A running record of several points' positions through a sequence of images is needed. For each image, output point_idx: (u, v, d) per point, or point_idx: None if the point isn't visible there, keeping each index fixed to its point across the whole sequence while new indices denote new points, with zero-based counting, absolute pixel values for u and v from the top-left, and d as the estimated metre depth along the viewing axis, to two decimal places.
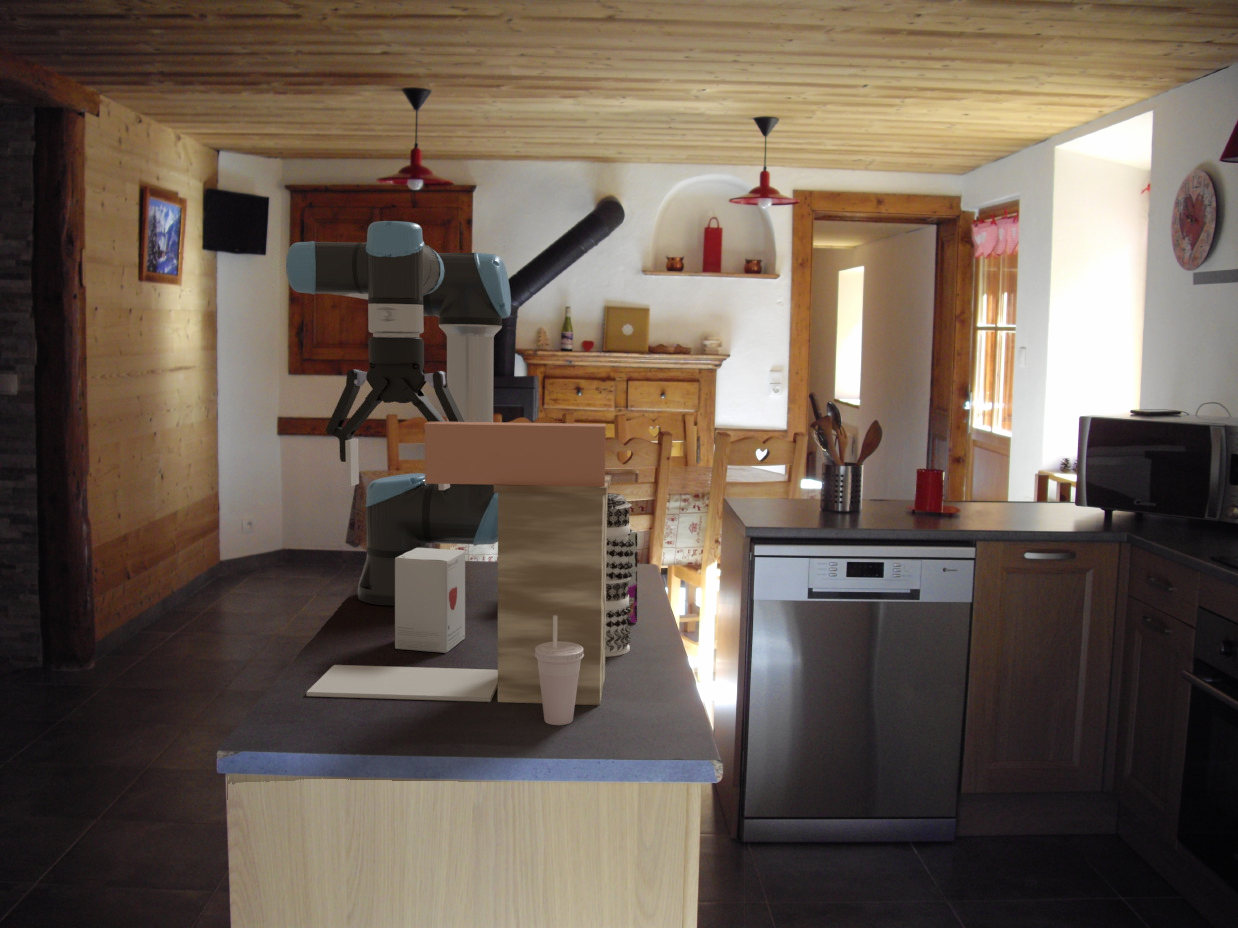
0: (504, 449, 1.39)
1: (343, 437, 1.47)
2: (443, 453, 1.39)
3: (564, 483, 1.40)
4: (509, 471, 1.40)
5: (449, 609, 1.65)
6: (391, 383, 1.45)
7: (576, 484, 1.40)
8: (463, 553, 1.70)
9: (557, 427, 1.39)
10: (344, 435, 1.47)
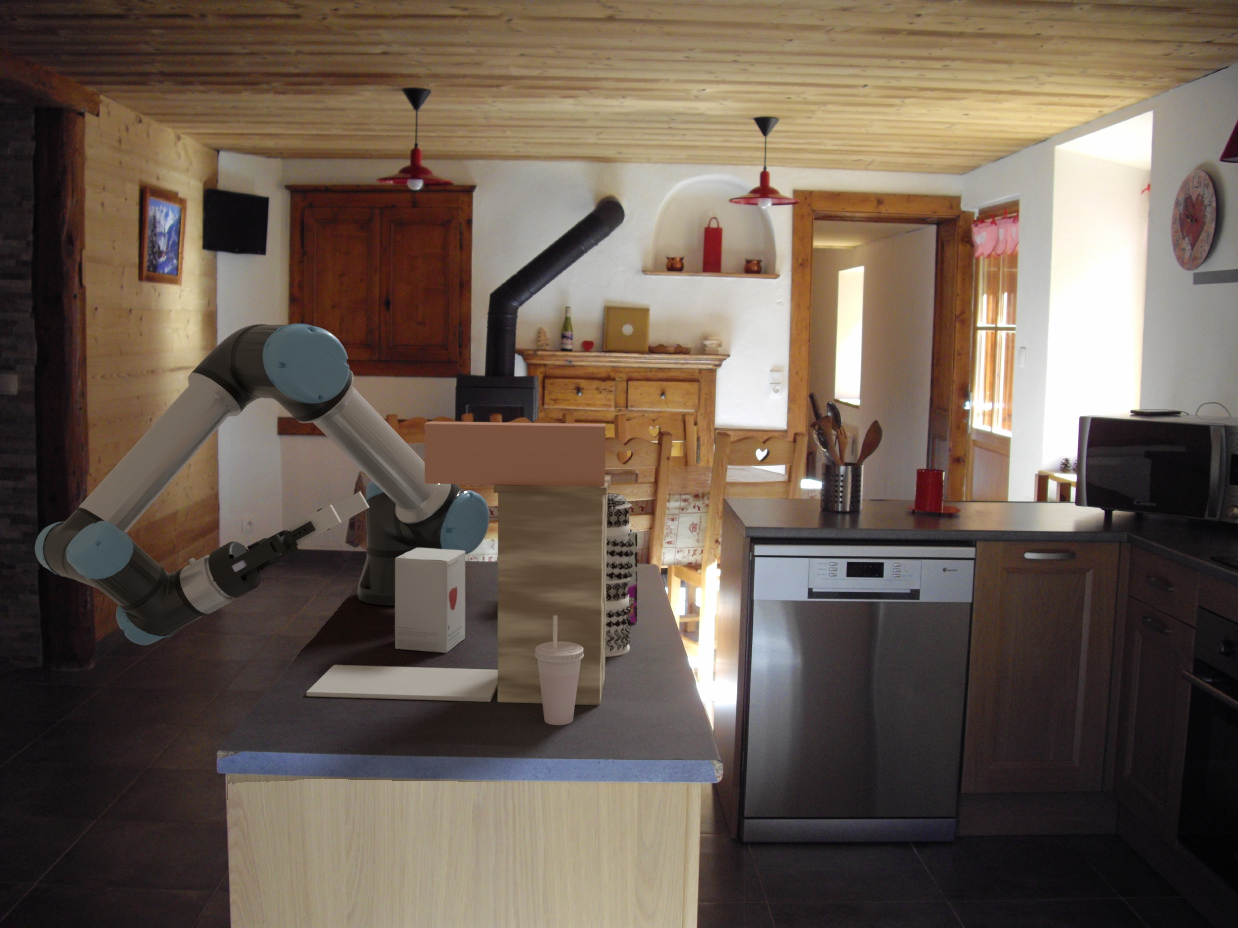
0: (504, 449, 1.39)
1: (285, 530, 1.40)
2: (443, 453, 1.39)
3: (564, 483, 1.40)
4: (509, 471, 1.40)
5: (449, 609, 1.65)
6: None
7: (576, 484, 1.40)
8: (463, 553, 1.70)
9: (557, 427, 1.39)
10: (284, 530, 1.40)
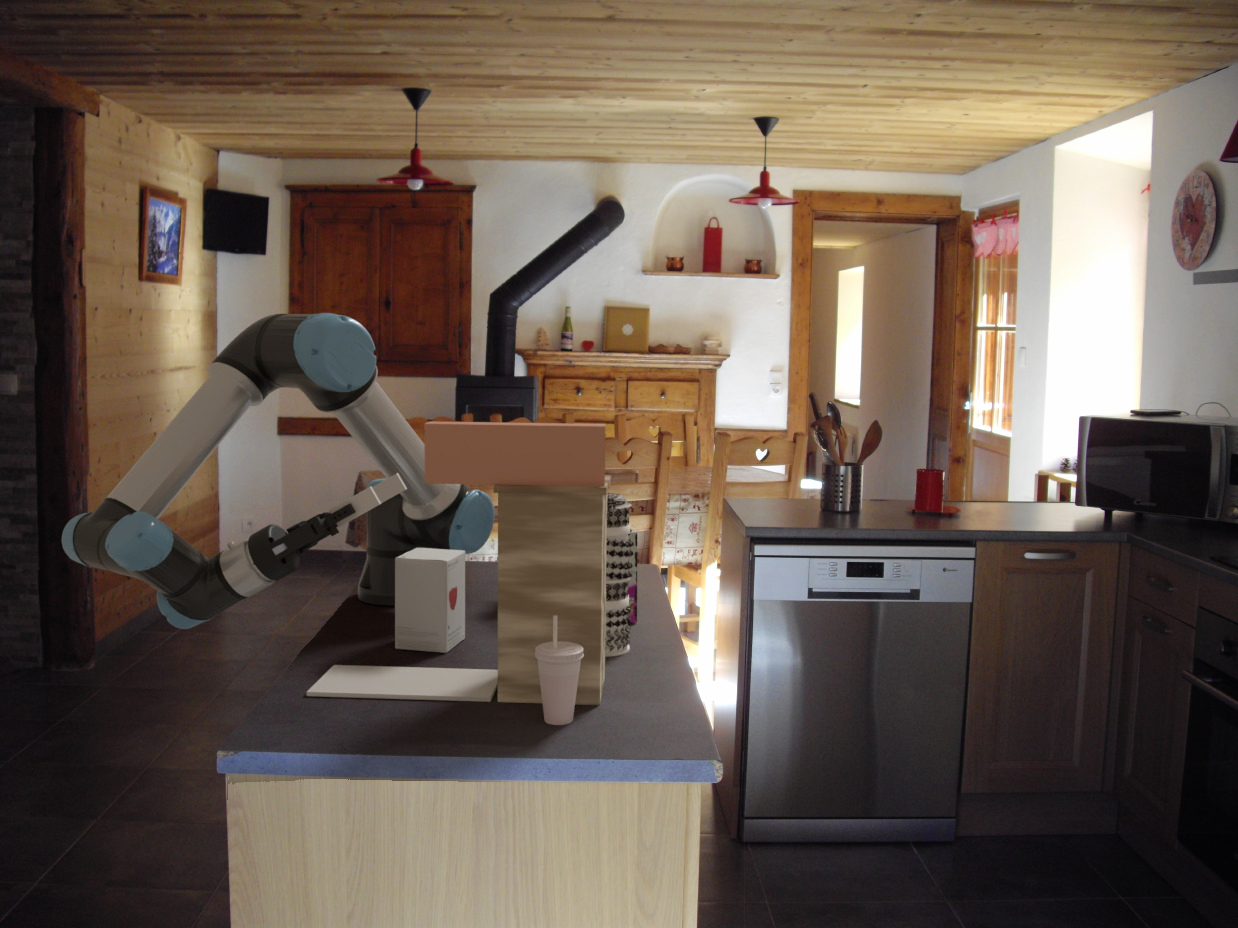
0: (504, 449, 1.39)
1: None
2: (443, 453, 1.39)
3: (564, 483, 1.40)
4: (509, 471, 1.40)
5: (449, 609, 1.65)
6: None
7: (576, 484, 1.40)
8: (463, 553, 1.70)
9: (557, 427, 1.39)
10: (324, 513, 1.40)
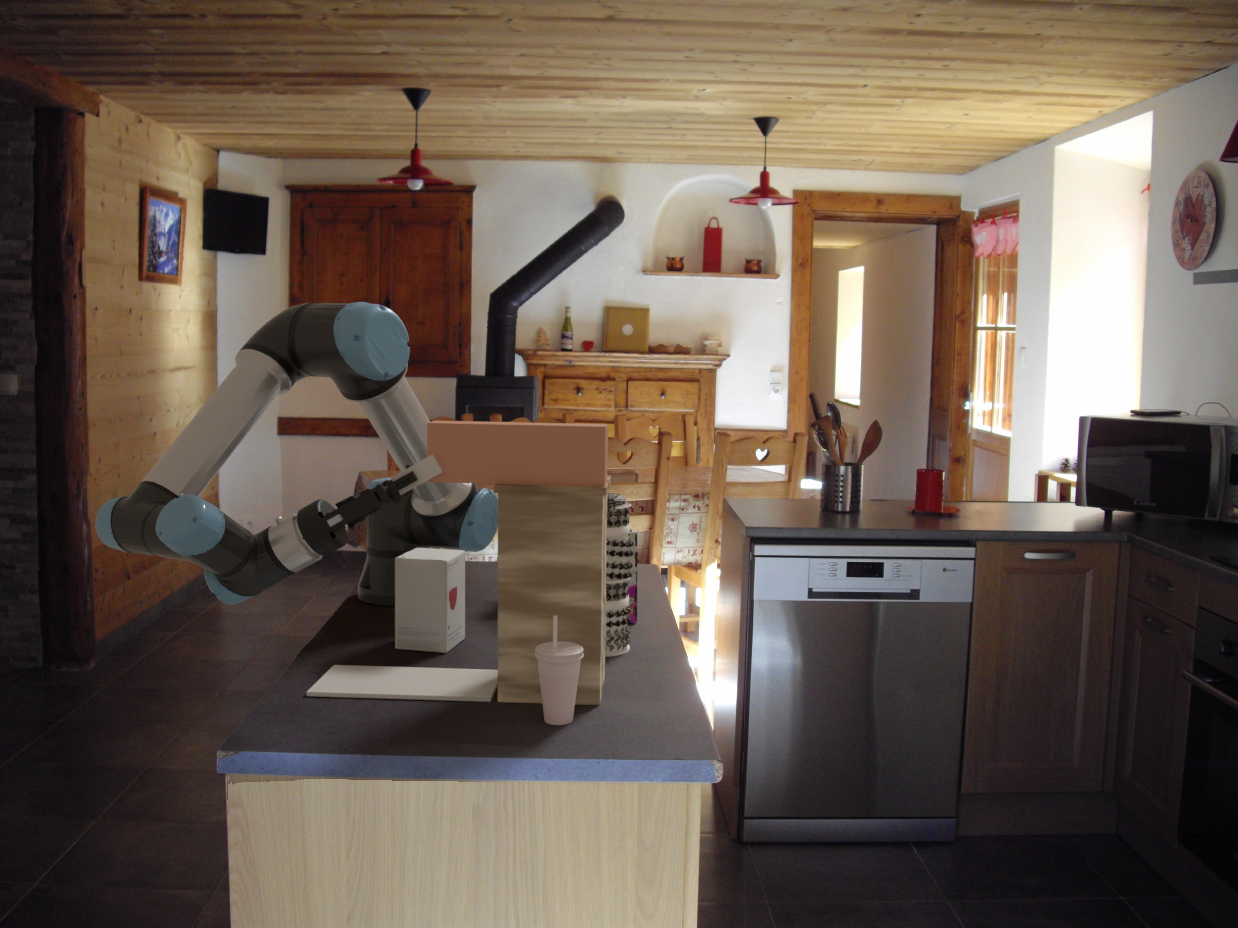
0: (505, 448, 1.40)
1: (387, 480, 1.40)
2: (445, 452, 1.40)
3: (564, 483, 1.40)
4: (510, 471, 1.40)
5: (449, 609, 1.65)
6: None
7: (576, 484, 1.40)
8: (463, 553, 1.70)
9: (557, 427, 1.39)
10: (386, 481, 1.40)
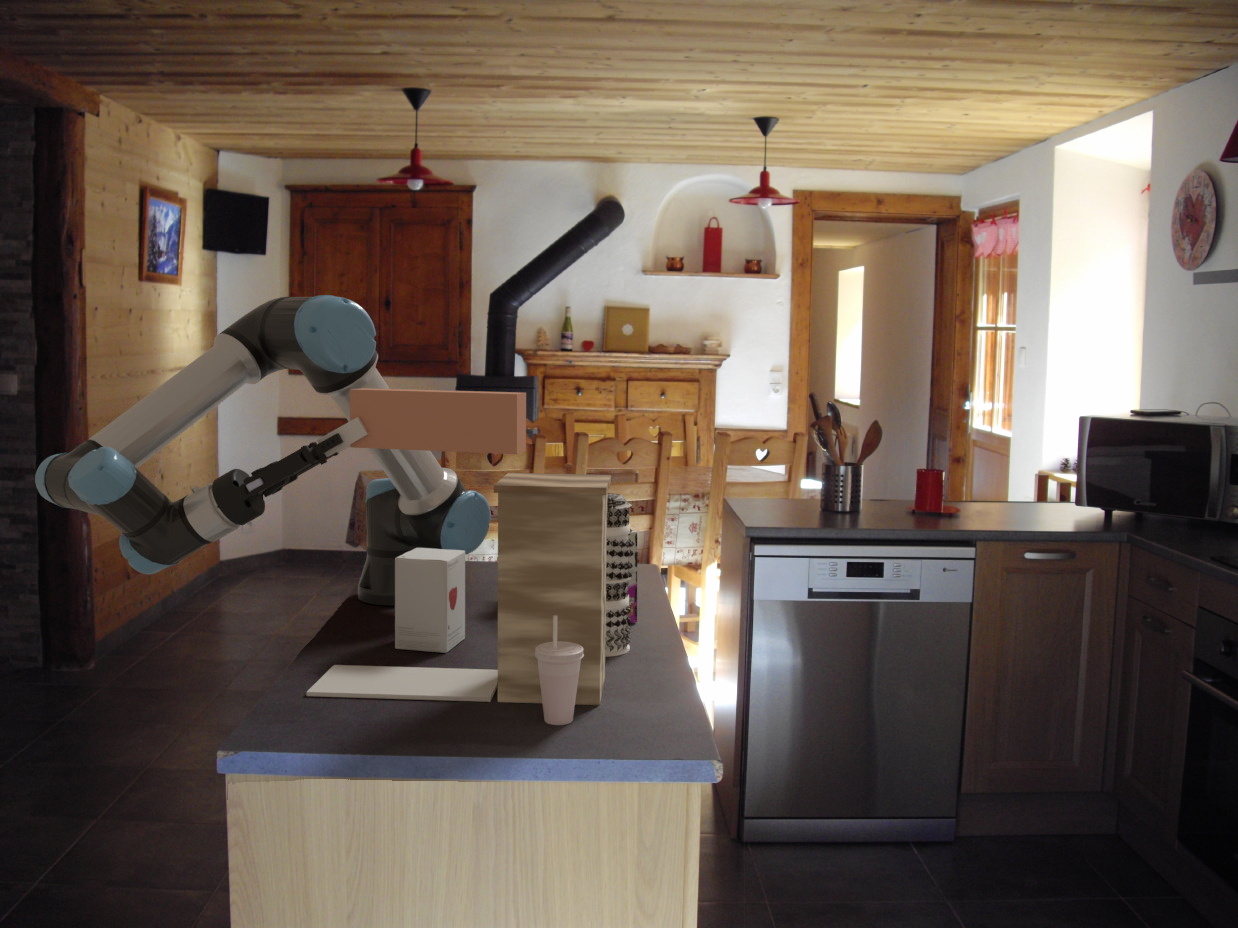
0: (422, 415, 1.42)
1: None
2: (367, 418, 1.43)
3: (478, 450, 1.40)
4: (427, 437, 1.42)
5: (449, 609, 1.65)
6: None
7: (489, 451, 1.40)
8: (463, 553, 1.70)
9: (471, 394, 1.40)
10: None
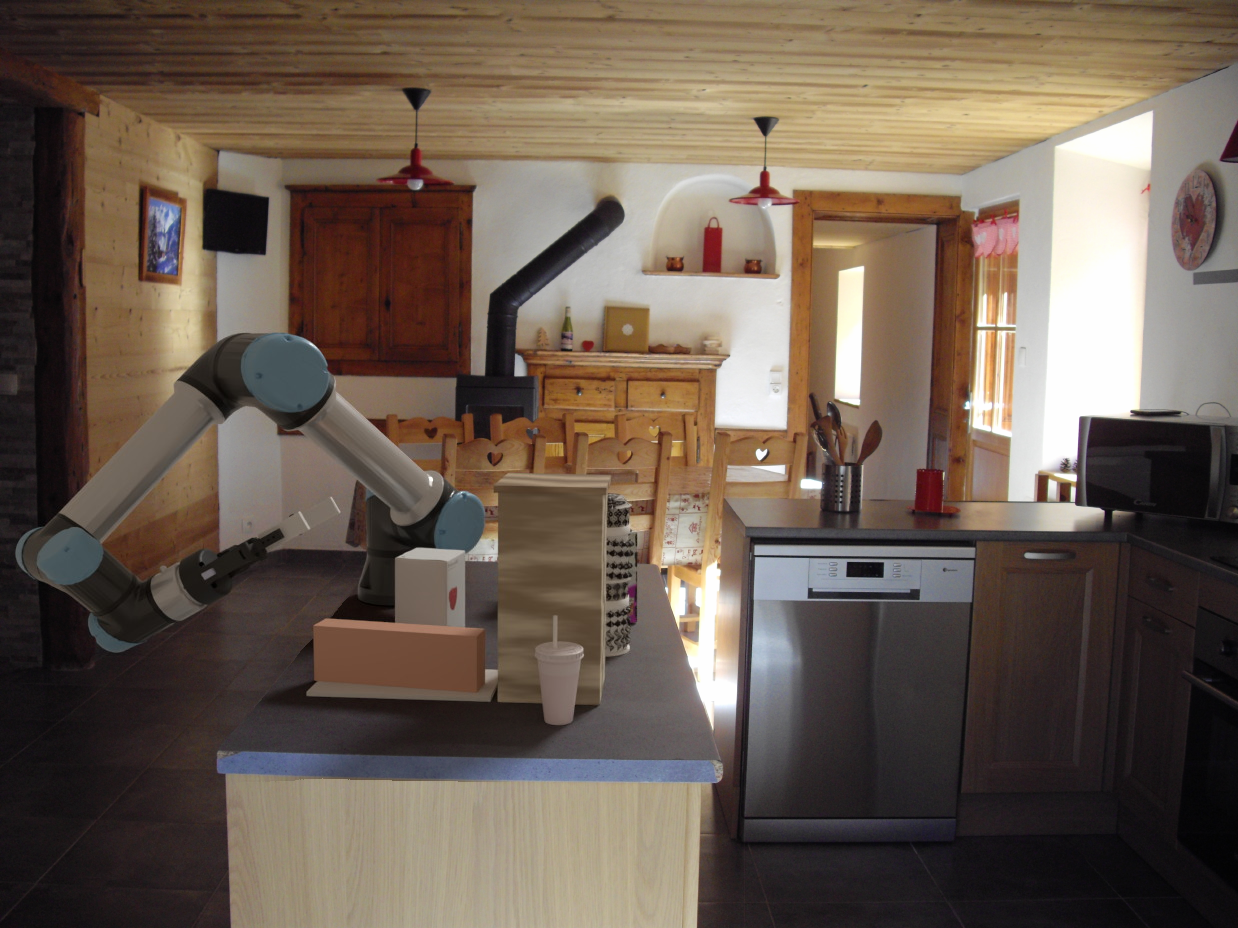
0: (384, 652, 1.47)
1: None
2: (330, 653, 1.48)
3: (439, 687, 1.46)
4: (389, 674, 1.47)
5: (449, 609, 1.65)
6: None
7: (450, 689, 1.46)
8: (463, 553, 1.70)
9: (432, 634, 1.45)
10: (253, 538, 1.41)
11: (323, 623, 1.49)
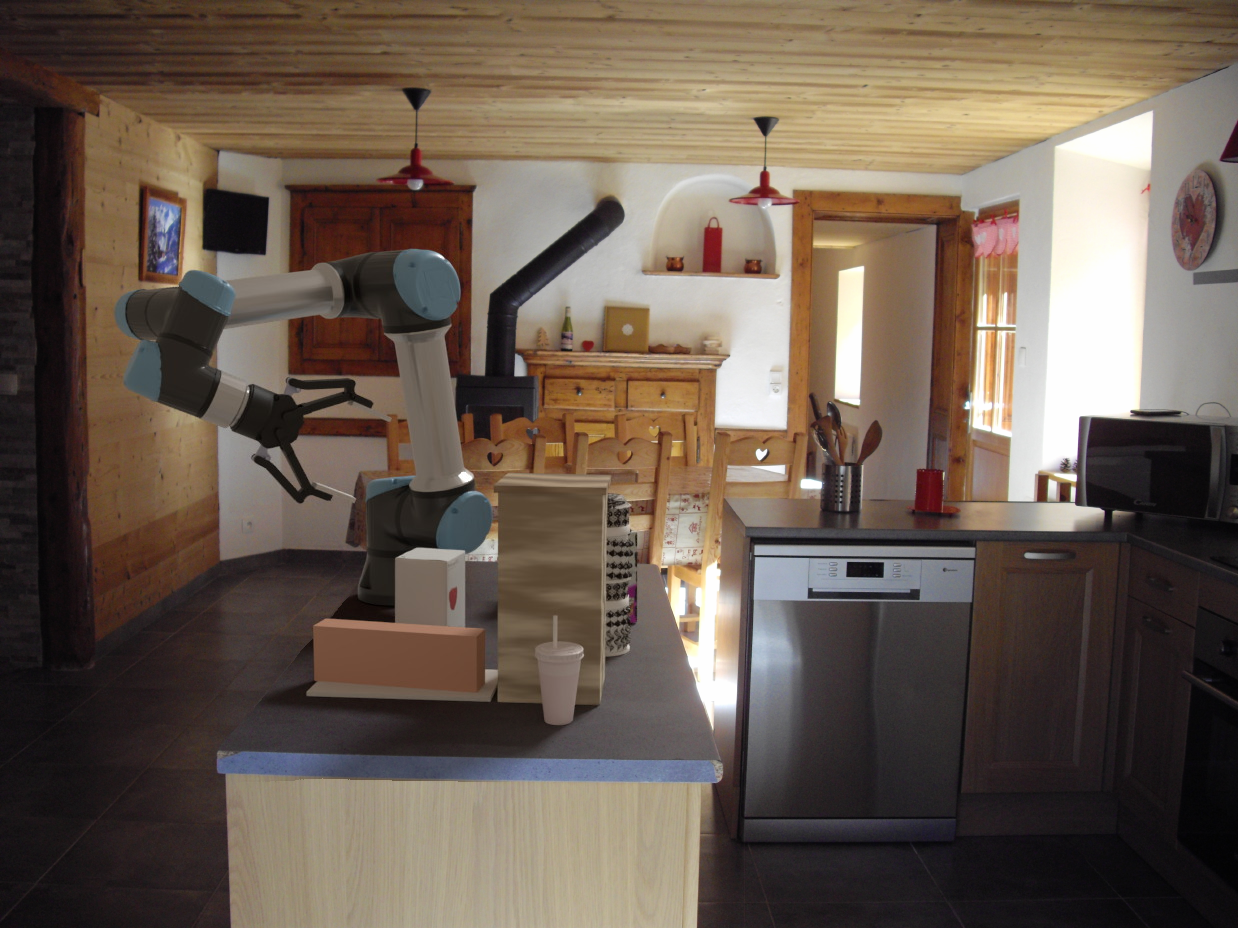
0: (384, 653, 1.47)
1: None
2: (330, 653, 1.48)
3: (439, 687, 1.46)
4: (389, 674, 1.47)
5: (449, 609, 1.65)
6: None
7: (450, 689, 1.46)
8: (463, 553, 1.70)
9: (432, 635, 1.45)
10: None
11: (323, 623, 1.49)
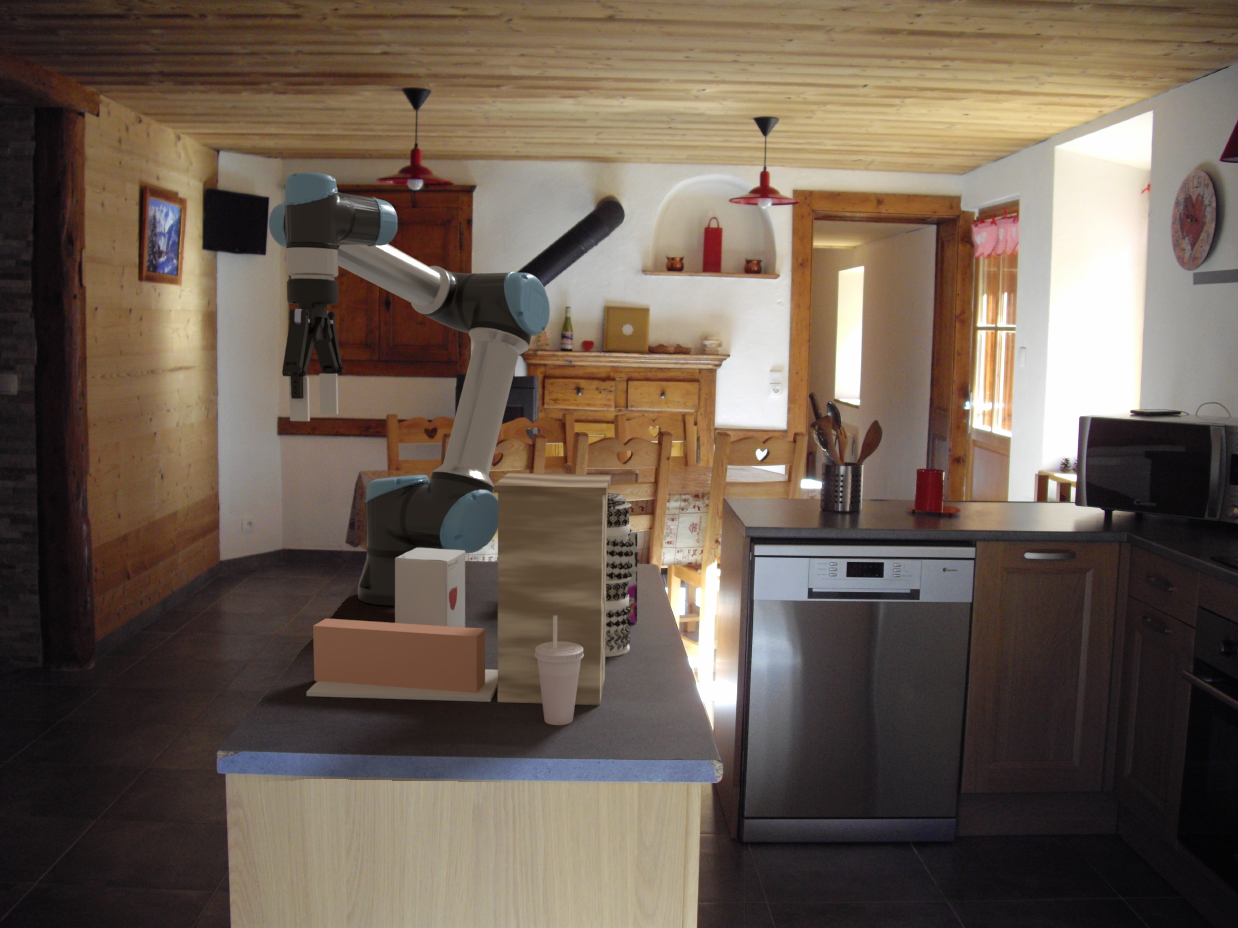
0: (384, 653, 1.47)
1: (322, 371, 1.69)
2: (330, 653, 1.48)
3: (439, 687, 1.46)
4: (389, 674, 1.47)
5: (449, 609, 1.65)
6: None
7: (450, 689, 1.46)
8: (463, 553, 1.70)
9: (432, 635, 1.45)
10: (321, 369, 1.68)
11: (323, 623, 1.49)
